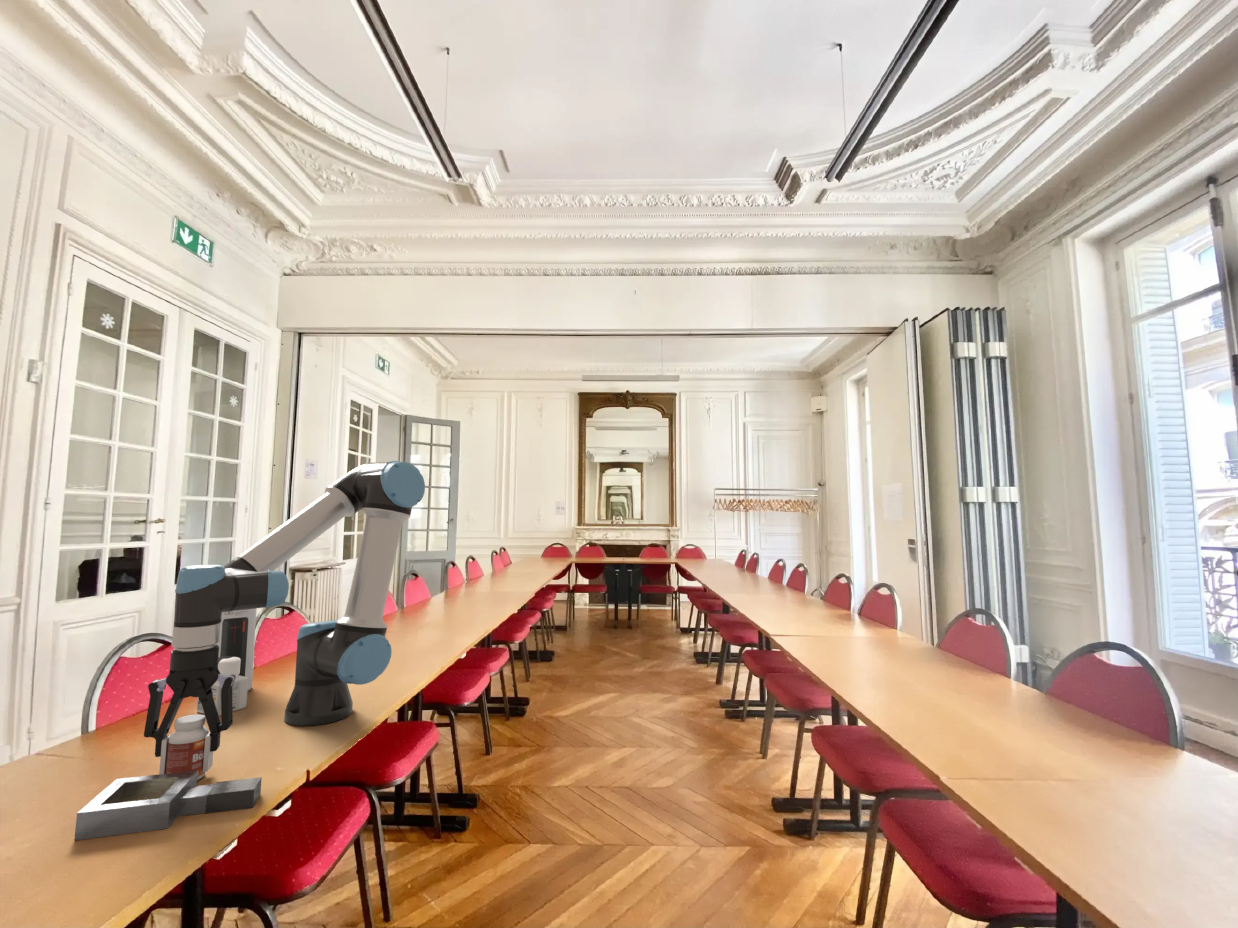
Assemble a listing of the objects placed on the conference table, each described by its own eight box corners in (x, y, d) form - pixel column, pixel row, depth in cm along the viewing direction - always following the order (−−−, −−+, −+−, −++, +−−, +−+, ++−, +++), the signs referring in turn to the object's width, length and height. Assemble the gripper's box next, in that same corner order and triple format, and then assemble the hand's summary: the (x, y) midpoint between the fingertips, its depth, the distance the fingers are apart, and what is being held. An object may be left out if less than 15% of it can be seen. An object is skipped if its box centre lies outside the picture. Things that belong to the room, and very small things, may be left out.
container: (196, 712, 144) (200, 659, 145) (226, 703, 151) (230, 652, 153) (216, 717, 141) (220, 662, 142) (246, 707, 148) (250, 656, 150)
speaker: (202, 698, 155) (209, 600, 157) (211, 687, 164) (218, 595, 166) (248, 694, 159) (255, 598, 161) (254, 684, 168) (261, 593, 171)
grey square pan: (265, 785, 107) (267, 763, 107) (246, 818, 95) (248, 792, 96) (114, 803, 99) (116, 779, 100) (74, 840, 88) (76, 813, 88)
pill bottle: (196, 785, 106) (200, 723, 107) (157, 787, 105) (162, 725, 106) (211, 770, 112) (215, 711, 113) (175, 772, 111) (180, 713, 112)
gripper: (258, 639, 117) (250, 756, 115) (144, 645, 111) (134, 769, 109) (247, 647, 110) (238, 773, 108) (125, 654, 104) (114, 786, 102)
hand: (186, 770), depth 109 cm, fingers closed on pill bottle, 6 cm apart
